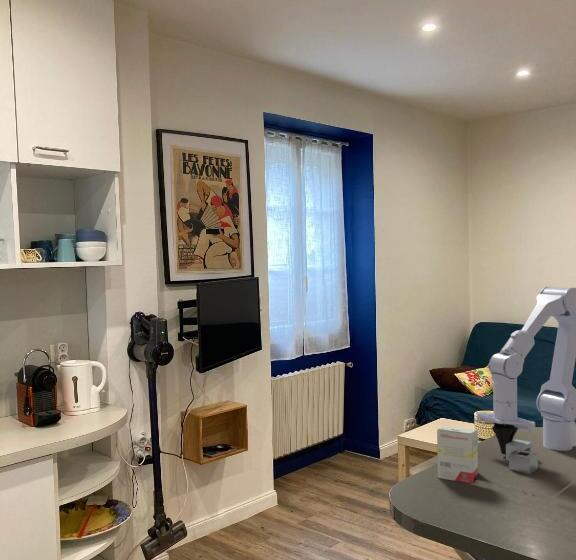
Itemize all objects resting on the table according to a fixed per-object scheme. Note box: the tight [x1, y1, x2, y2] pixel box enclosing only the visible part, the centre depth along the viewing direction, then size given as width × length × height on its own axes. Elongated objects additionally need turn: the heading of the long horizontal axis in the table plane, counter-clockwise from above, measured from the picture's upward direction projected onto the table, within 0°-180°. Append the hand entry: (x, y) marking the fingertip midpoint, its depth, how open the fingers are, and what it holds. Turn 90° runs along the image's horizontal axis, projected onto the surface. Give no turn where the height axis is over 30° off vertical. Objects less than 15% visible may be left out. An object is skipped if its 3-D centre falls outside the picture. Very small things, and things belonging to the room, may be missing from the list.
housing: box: [505, 438, 533, 462], centre depth 154 cm, size 6×4×4 cm, turn 136°
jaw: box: [508, 449, 539, 475], centre depth 146 cm, size 5×5×4 cm
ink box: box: [436, 424, 479, 485], centre depth 144 cm, size 9×5×12 cm, turn 57°
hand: (505, 453), depth 156 cm, fingers closed
